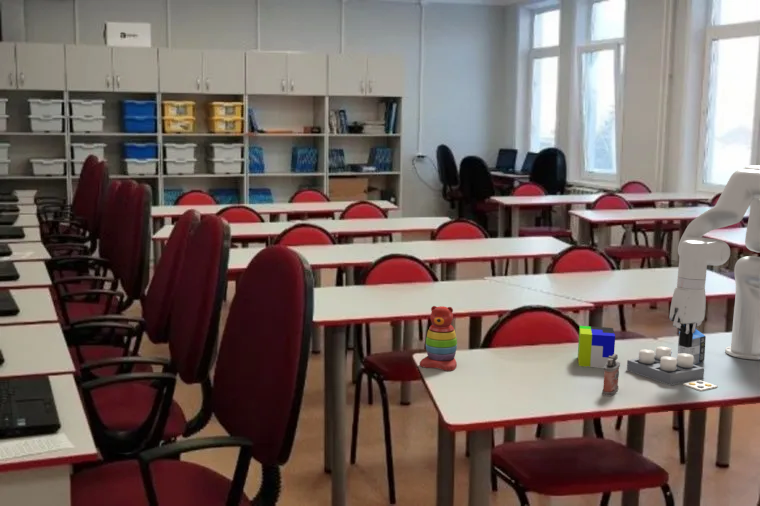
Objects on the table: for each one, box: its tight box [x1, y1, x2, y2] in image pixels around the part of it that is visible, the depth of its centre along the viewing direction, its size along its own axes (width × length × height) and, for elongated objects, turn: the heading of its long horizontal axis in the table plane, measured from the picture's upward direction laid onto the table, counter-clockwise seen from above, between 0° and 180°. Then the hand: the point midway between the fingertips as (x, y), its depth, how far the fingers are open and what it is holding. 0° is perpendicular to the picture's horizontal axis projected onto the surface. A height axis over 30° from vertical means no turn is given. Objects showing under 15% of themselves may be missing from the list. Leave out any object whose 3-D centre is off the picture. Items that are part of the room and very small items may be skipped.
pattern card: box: [682, 379, 719, 392], centre depth 231 cm, size 7×6×1 cm
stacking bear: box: [419, 305, 458, 371], centre depth 246 cm, size 11×10×18 cm
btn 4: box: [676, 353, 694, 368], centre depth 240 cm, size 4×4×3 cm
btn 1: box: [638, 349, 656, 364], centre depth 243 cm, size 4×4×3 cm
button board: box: [626, 357, 705, 386], centre depth 242 cm, size 14×16×3 cm
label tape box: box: [677, 325, 706, 365], centre depth 252 cm, size 9×4×12 cm, turn 126°
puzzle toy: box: [577, 325, 616, 368], centre depth 251 cm, size 10×10×10 cm
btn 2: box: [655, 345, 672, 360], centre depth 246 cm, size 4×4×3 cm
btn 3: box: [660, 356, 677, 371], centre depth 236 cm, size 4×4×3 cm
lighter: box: [601, 353, 621, 397], centre depth 225 cm, size 8×3×10 cm, turn 148°
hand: (685, 346), depth 238 cm, fingers closed
